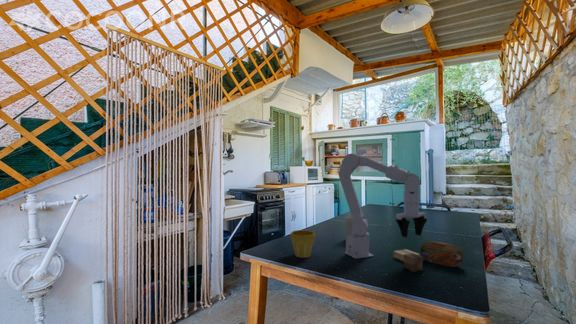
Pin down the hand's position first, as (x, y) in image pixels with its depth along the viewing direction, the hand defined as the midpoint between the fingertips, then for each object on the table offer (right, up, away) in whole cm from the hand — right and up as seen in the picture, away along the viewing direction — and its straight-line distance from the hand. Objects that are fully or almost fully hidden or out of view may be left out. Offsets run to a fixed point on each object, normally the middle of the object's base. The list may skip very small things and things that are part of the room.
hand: (411, 235), depth 110 cm
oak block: (-1, -11, +2) cm, 11 cm away
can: (-17, -11, +29) cm, 35 cm away
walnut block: (-3, -10, -8) cm, 14 cm away
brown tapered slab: (+11, -11, -3) cm, 15 cm away
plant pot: (-44, -10, +5) cm, 46 cm away
